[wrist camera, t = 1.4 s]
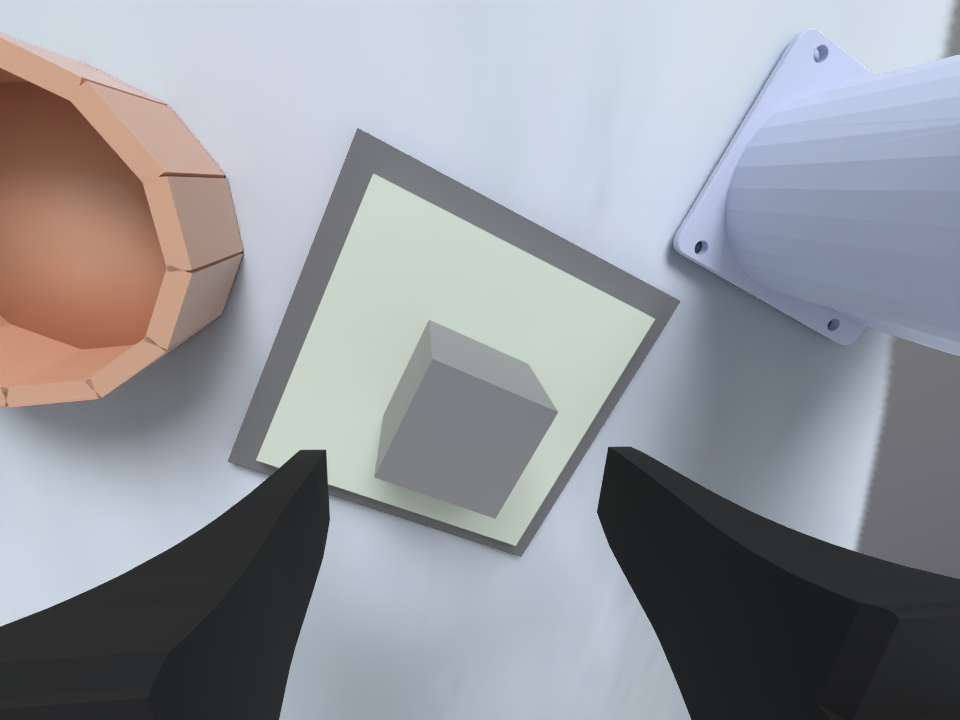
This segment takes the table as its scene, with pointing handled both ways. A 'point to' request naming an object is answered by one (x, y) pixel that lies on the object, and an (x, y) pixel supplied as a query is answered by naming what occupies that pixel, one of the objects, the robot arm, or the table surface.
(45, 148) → the tan bowl
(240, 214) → the table surface
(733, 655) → the robot arm
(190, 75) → the table surface
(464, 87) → the table surface
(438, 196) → the mat
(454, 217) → the sheet lid
